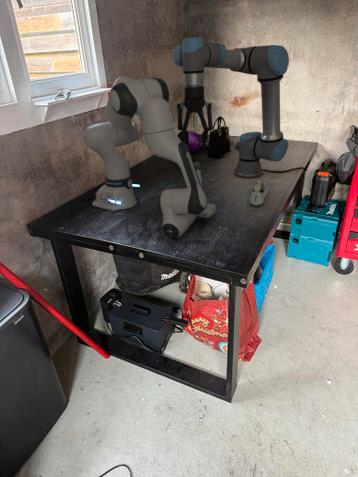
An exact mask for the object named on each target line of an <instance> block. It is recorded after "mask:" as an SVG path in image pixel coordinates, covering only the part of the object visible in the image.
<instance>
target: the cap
mask: <svg viewBox="0 0 358 477" xmlns="http://www.w3.org/2000/svg"><path fill="white" fill-rule="evenodd" d="M193 163H194V165H195V168H196V170H200V171H201V169H202V162H200V161H193Z"/></svg>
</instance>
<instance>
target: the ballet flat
mask: <svg viewBox="0 0 358 477" xmlns="http://www.w3.org/2000/svg"><path fill="white" fill-rule="evenodd" d="M268 194H269V189H268V186H267V183H266V182H265V181H264V180H262V179H257V180H255V181H254V182H253V184H252V187H251V190H250V196H249V204H250V205H251V206H252V207H260V206H261V205H263V203H264V201H265V198H266V196H267V195H268Z"/></svg>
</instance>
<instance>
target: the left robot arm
mask: <svg viewBox="0 0 358 477" xmlns="http://www.w3.org/2000/svg"><path fill="white" fill-rule="evenodd" d="M169 100H170V89H169V86H168V84H167V83H166V81H165V80H164V79H163V78H159V77H150V78H137V79H134V78H133V77H131V76H129V75H120V76H119V77H117V78H116V79H115V81H114V82H113V84H112V87H111V88H110V91H109V94H108V97H107V102H106V105H105V108H104V109H105V110H104V115H105V118H106V120H107V121H105V122H104V121H103V122H98V123H94V124H92V125H90V126H87V127H86V128H85V129H84V131H83V140H84V144H85V145H86V146H87V148H89V149H90V150H92V151H94V152H95V153H97V154H98V155H99V157H100V158H101V160H102V162H103V165H104V168H105V169H104V170H105V173H106V174H105V175H106V176H105V177H104V178H102V182H104V184H103V185H102V186H101V187H100V188H99V189H98V190H97V191H96V192H94V193H91V194H89V195H88V197H84V196H82V197H81V199H82V200H85V201H89V200H91V197H93V199H94V200H93V201H92V203H91V204H92V205H91V206H92V207H96V208H99V209H103V210H107V211H111V212H116V211H119V210H120V211H121V210H126V209H130V208H132V207H134V206H136V205H137V204H138V200H137V199H138V198H137V197H136V194H135V191H134V187H136V188H137V187H139V188H140V187H141V186H140V184H134V183H133V177H132V173H131V168H130V160H129V159H128V157H127V156H126V155H124V154H121V153H120V152H119V153H118V152H117V150H116V148H117V147H121V146H127V145H130V144H132V143H135V142H137V141H138V139H139V137H140V134H141V130H140V127H139V125H138V122H136V120H135V119H133V118H134V117H135V115H136V116H138V117H139V118H140V120H141V124H142V131H143V136H144V141H145V145H146V147H147V149H148V150H149V152H150V153H151V154H153V155H154V156H156V157H158V158H161V159H164V160H168V161H171V162H173V163H175V164H176V165H177V166H178V168H179V167H180V168H179V169H180V170H181V174H182V176H183V179H184V182H185V185H186V188H184V187H183V188H168V189H164V190H162V191H161V193H160V194H159V196H158V199H157V208H158V211H159V213H160V216H161V217H162V224H161V230H162V233H163V234H164V235H165V236H166V237H168V238H170V239H176V238H180V237H181V236H183V234H184V233H186V232H187V230H188V229H189V228H190V226H191V225H193V223H194V222H195V220H196V219H197V218H204V219H205V218H206V219H209V218H211V217H212V216H214V214H215V213H216V210H217V205H216V204H215V203H210V202H208V198H207V194H206V192H205V190H204V188H203V185H202V186H201V183H200V180H199V177H198V174H197V171H196V168H195V165H194V163H193V162H194V160H192V158H193V156H192V157H191V155H192V153H191V154H190V152H189V149H188V147H187V146H186V144H184V143H182V142H181V141H180V139H179V138H178V136H177V134H178V133H177V132H176V127H175V122H174V117H173V115H172V111H171V108H170V106H169Z"/></svg>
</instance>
